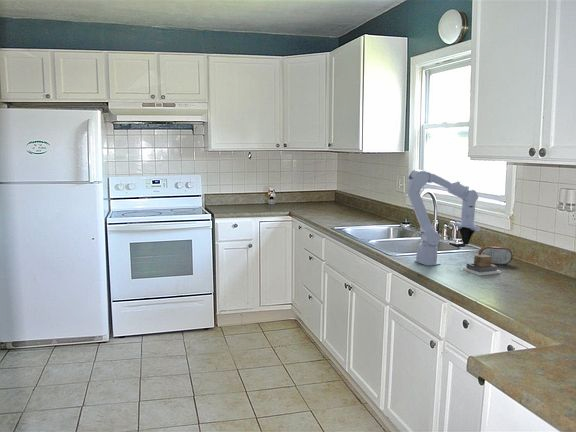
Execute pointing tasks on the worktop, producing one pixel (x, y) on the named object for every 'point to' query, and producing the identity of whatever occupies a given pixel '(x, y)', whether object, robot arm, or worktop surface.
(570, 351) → the worktop surface
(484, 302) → the worktop surface
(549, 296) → the worktop surface
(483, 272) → the grey tray
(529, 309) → the worktop surface
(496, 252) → the tin
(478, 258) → the plug block
